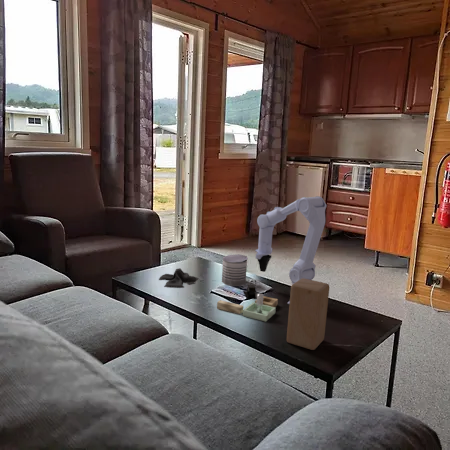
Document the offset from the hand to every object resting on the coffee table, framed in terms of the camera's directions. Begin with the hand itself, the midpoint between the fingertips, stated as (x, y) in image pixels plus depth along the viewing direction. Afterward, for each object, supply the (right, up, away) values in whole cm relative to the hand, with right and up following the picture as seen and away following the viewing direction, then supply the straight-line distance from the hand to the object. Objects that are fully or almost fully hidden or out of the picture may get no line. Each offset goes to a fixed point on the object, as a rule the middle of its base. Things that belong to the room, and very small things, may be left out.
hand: (262, 271), depth 186 cm
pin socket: (0, -12, -19) cm, 22 cm away
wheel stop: (-15, -12, -25) cm, 32 cm away
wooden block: (+10, -18, -48) cm, 52 cm away
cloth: (-37, -6, +7) cm, 38 cm away
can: (-13, -6, +8) cm, 16 cm away
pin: (-4, -13, -28) cm, 31 cm away
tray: (-4, -13, -28) cm, 31 cm away
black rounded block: (-6, -10, -8) cm, 14 cm away
